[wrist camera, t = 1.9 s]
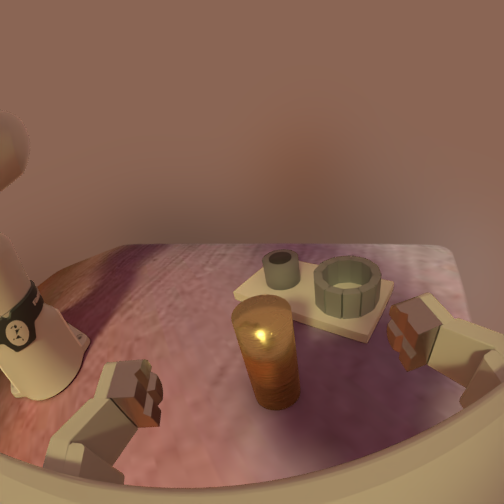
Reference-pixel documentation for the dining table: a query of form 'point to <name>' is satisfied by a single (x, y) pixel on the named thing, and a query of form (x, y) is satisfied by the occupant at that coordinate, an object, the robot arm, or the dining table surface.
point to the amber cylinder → (268, 349)
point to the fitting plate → (310, 310)
